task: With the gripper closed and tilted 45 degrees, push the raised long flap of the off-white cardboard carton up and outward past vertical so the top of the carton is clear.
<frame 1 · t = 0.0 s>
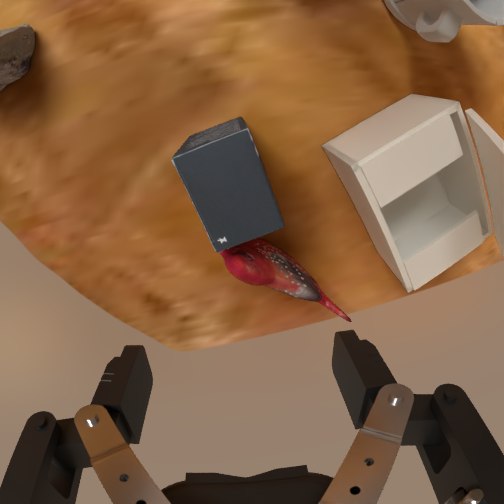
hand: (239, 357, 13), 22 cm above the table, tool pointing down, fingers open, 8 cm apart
box: (229, 160, 31), on the table
decorative bird figurine: (283, 253, 37), on the table
carton: (396, 176, 33), on the table
cup: (413, 3, 23), on the table
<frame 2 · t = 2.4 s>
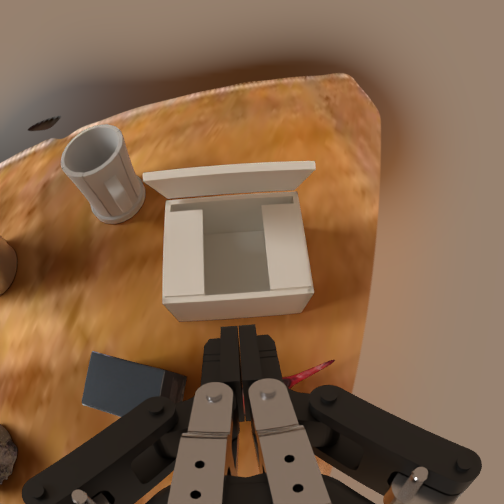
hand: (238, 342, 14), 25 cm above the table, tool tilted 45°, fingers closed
box: (153, 390, 35), on the table
decorative bird figurine: (254, 395, 35), on the table
carton: (236, 272, 42), on the table
cup: (123, 202, 46), on the table
flap: (229, 180, 30), point 14 cm above the table, hinge at -25.0°
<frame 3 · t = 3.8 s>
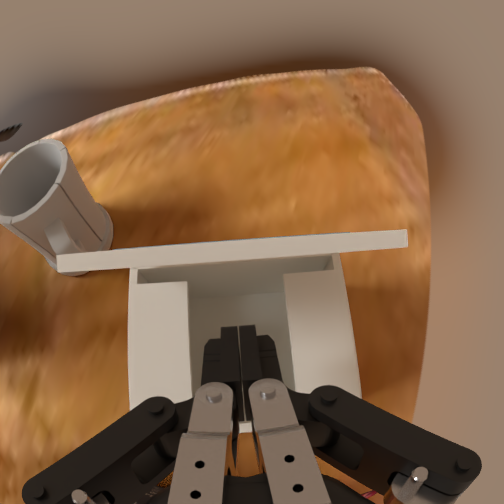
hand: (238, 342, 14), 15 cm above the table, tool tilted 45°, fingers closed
carton: (242, 354, 28), on the table
cup: (86, 243, 33), on the table
flap: (231, 249, 17), point 14 cm above the table, hinge at -25.0°
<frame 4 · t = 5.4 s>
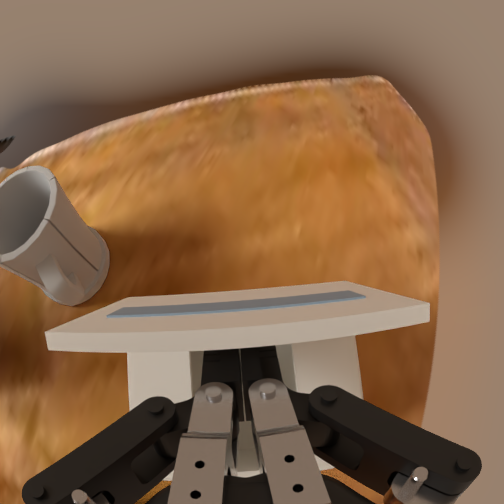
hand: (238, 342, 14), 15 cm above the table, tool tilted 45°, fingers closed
carton: (245, 389, 27), on the table
cup: (81, 270, 31), on the table
flap: (235, 309, 15), point 14 cm above the table, hinge at -24.1°, touching gripper
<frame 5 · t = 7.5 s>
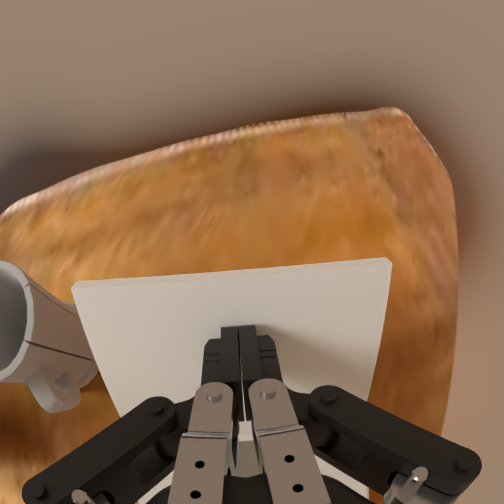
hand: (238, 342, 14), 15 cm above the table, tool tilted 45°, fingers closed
carton: (252, 480, 23), on the table
cup: (74, 352, 27), on the table
flap: (238, 367, 15), point 13 cm above the table, hinge at 45.4°, touching gripper
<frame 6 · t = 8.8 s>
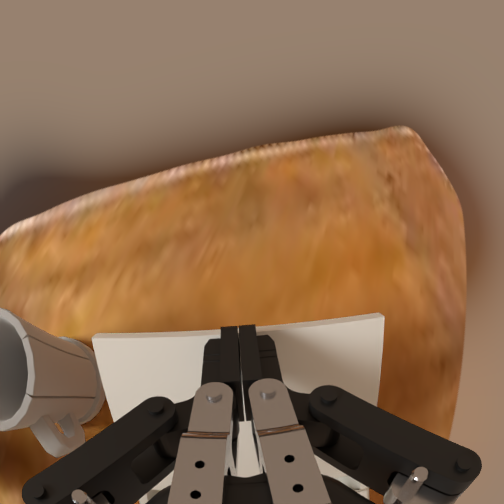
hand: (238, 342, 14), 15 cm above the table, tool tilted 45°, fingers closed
cup: (77, 386, 26), on the table
flap: (245, 418, 15), point 12 cm above the table, hinge at 59.5°, touching gripper
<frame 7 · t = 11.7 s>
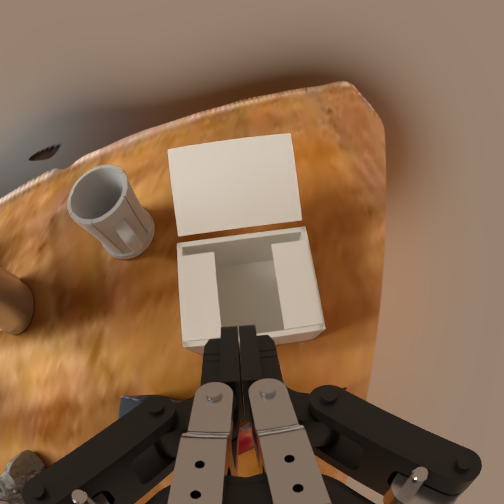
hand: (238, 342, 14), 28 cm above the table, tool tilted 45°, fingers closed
box: (178, 419, 37), on the table
decorative bird figurine: (273, 418, 37), on the table
carton: (250, 303, 43), on the table
cup: (133, 236, 48), on the table
flap: (234, 183, 36), point 12 cm above the table, hinge at 59.7°
mineral rock: (29, 479, 32), on the table
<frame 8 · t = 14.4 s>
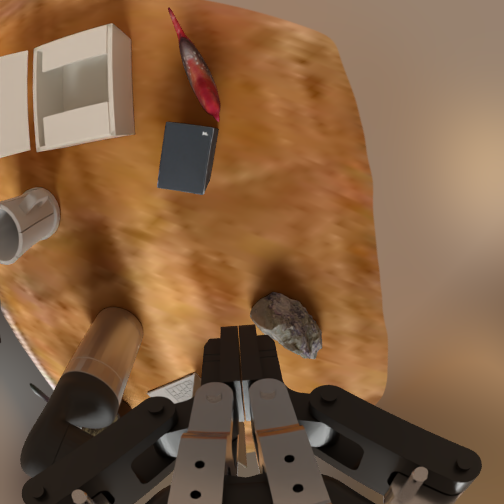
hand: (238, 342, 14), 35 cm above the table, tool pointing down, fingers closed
box: (195, 152, 44), on the table
decorative bird figurine: (197, 70, 40), on the table
carton: (95, 92, 39), on the table
cup: (41, 207, 45), on the table
mineral rock: (285, 320, 55), on the table
laptop: (197, 406, 62), on the table
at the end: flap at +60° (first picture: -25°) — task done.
